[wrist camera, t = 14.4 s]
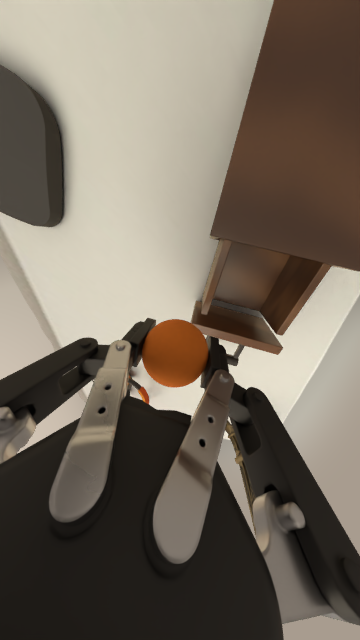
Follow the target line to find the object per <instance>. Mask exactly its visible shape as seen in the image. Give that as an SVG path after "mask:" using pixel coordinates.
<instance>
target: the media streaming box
mask: <svg viewBox="0 0 360 640" xmlns="http://www.w3.org/2000/svg"><path fill="white" fill-rule="evenodd" d="M0 212H2V213H4V214H6V215H9V216H11V217H13V218H16V219H18V220H20V221H23V222H26V223H28V224H31V225H34V226H44V227H53V226H55V225H57V224H58V223H59V221H60V220H61V217H62V159H61V142H60V134H59V130H58V126H57V123H56V121H55V118H54V116H53V114H52V112H51V110H50V108H49V107H48V105H47V104H46V102H45V101H44V100H43V98H42V97H41V96H40V95H39V94H38V93H37V92H36V91H34V90H33V89H32V88H31V87H30V86H29V85H28V84H26V83H25V82H24V81H23V80H22V79H21V78H19V77H18V76H17V75H16V74H14V73H13V72H11V71H10V70H8V69H6V68H5V67H3V66H2V65H0Z"/></svg>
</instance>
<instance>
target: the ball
mask: <svg viewBox="0 0 360 640" xmlns="http://www.w3.org/2000/svg"><path fill="white" fill-rule="evenodd" d="M142 360H143V364H144V367H145V369H146V371H147V372H148V374H149V375H150V376H151V377H152V378H153V379H154V380H155V381H156V382H158V383H160V384H162V385H164V386H168V387H182V386H186V385H188V384H190V383H192V382H194V381H195V380H196V379H197V378H198V377H199V376H200V375H201V374H202V372H203V371H204V369H205V367H206V364H207V361H208V345H207V342H206V339H205V337H204V335H203V334H202V332H201V331H200V330H199V329H198V328H197V327H196V326H194V325H193V324H191V323H189V322H187V321H184V320H179V319H172V320H167V321H164V322H161V323H159V324H158V325H156V326H155V327H154V328H153V329H152V330H151V331H150V332H149V333H148V335H147V336H146V338H145V341H144V344H143V348H142Z"/></svg>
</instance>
